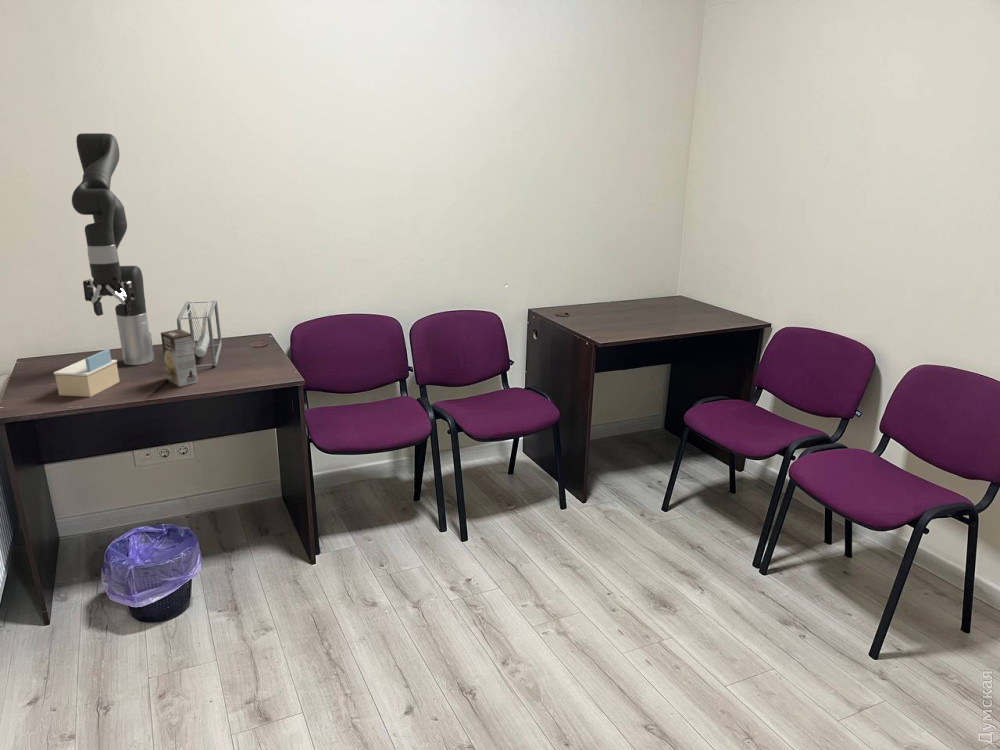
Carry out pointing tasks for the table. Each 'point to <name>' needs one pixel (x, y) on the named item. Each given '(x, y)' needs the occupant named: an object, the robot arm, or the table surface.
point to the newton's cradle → (203, 339)
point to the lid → (88, 365)
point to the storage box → (87, 382)
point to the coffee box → (179, 357)
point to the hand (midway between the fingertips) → (113, 315)
